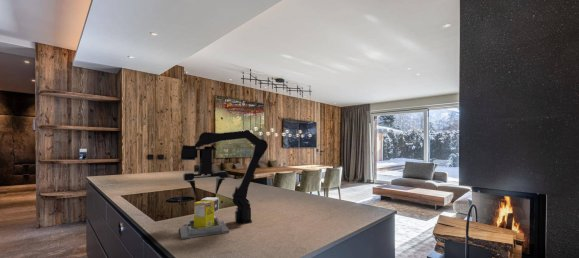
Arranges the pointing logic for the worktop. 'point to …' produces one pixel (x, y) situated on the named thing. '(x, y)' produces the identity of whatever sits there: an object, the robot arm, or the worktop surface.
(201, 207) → the supplement box
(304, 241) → the worktop surface
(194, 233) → the plate
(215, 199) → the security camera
